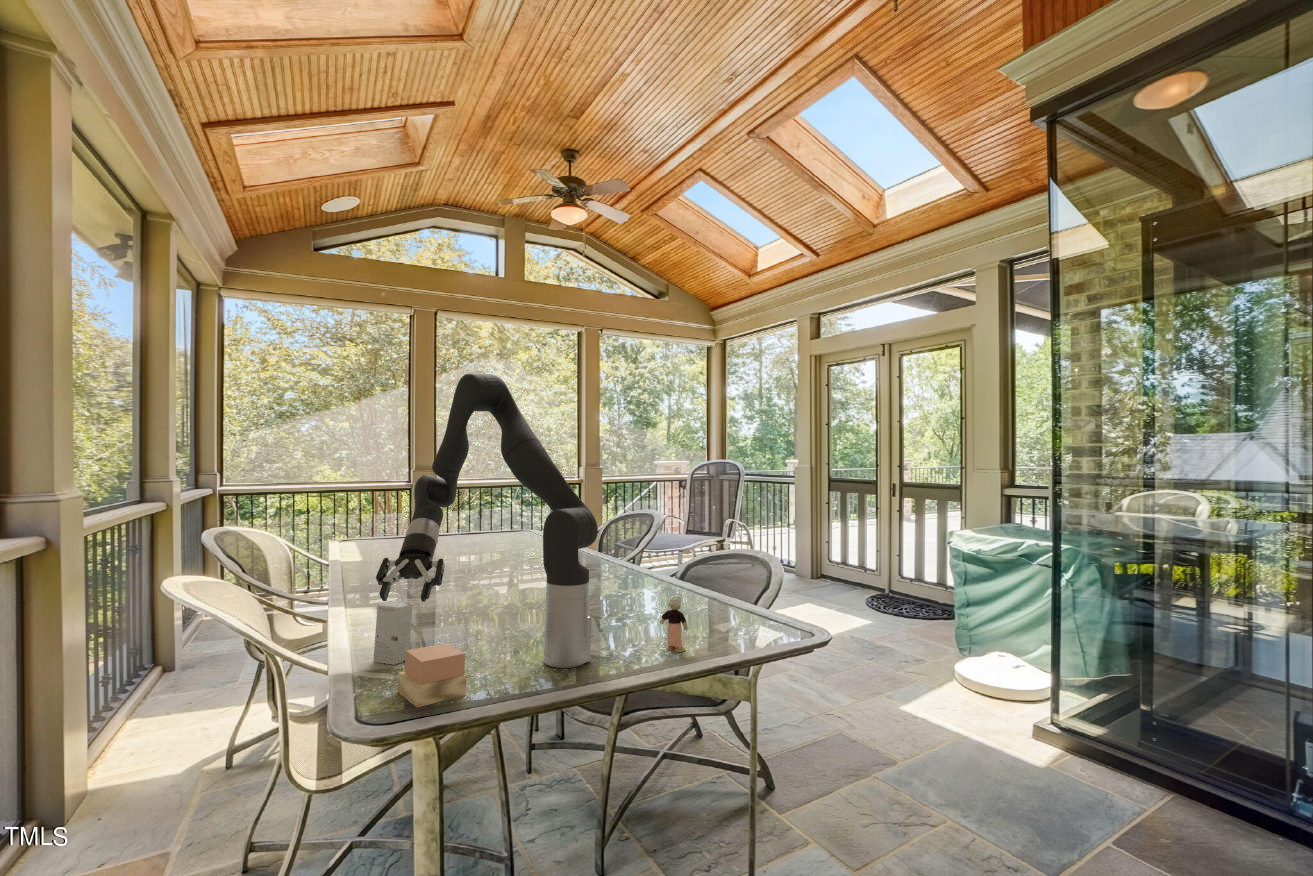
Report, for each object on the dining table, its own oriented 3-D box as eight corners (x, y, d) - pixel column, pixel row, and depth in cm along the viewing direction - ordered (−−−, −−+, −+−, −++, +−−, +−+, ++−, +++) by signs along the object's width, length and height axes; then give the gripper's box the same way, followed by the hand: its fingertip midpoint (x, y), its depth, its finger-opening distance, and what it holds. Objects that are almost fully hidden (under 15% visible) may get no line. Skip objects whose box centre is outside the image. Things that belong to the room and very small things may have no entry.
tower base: (444, 683, 119) (445, 662, 119) (465, 697, 112) (466, 675, 113) (397, 694, 113) (398, 672, 113) (416, 709, 106) (417, 686, 106)
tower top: (446, 663, 118) (447, 643, 119) (464, 675, 112) (465, 653, 113) (404, 672, 113) (405, 650, 113) (420, 684, 107) (421, 661, 107)
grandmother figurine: (691, 649, 144) (693, 595, 144) (685, 654, 140) (687, 598, 141) (662, 644, 147) (663, 591, 147) (655, 648, 143) (656, 594, 144)
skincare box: (372, 662, 129) (374, 604, 129) (387, 656, 133) (390, 600, 134) (396, 666, 127) (398, 607, 127) (411, 659, 131) (413, 602, 132)
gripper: (387, 531, 145) (366, 589, 133) (448, 532, 146) (433, 590, 134) (393, 550, 150) (374, 608, 138) (452, 551, 151) (438, 609, 139)
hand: (403, 599), depth 136 cm, fingers open, 8 cm apart
